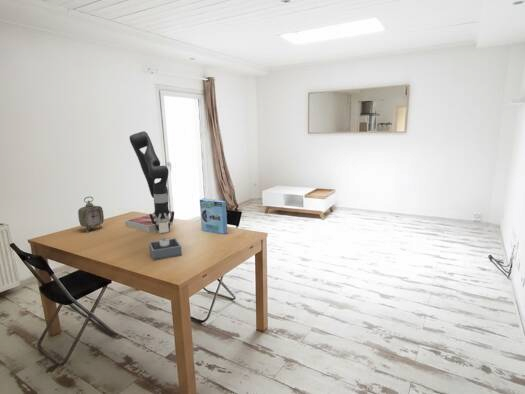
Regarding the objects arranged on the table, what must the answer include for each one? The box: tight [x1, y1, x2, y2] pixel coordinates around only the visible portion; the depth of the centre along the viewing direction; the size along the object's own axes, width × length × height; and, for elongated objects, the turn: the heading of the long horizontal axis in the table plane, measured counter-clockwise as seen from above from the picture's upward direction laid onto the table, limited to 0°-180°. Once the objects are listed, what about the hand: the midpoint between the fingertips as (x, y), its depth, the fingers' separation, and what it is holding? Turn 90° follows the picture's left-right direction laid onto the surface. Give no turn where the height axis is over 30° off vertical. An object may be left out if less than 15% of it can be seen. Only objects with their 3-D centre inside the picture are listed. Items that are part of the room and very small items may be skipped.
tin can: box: [158, 238, 170, 249], centre depth 187 cm, size 6×6×7 cm
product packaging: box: [124, 214, 174, 233], centre depth 244 cm, size 22×28×5 cm
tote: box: [148, 237, 183, 261], centre depth 187 cm, size 16×16×6 cm
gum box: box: [199, 197, 228, 235], centre depth 225 cm, size 20×5×23 cm, turn 60°
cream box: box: [158, 220, 170, 234], centre depth 184 cm, size 6×5×6 cm
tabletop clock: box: [77, 196, 105, 233], centre depth 233 cm, size 14×9×25 cm, turn 150°
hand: (163, 229), depth 185 cm, fingers closed on cream box, 5 cm apart
